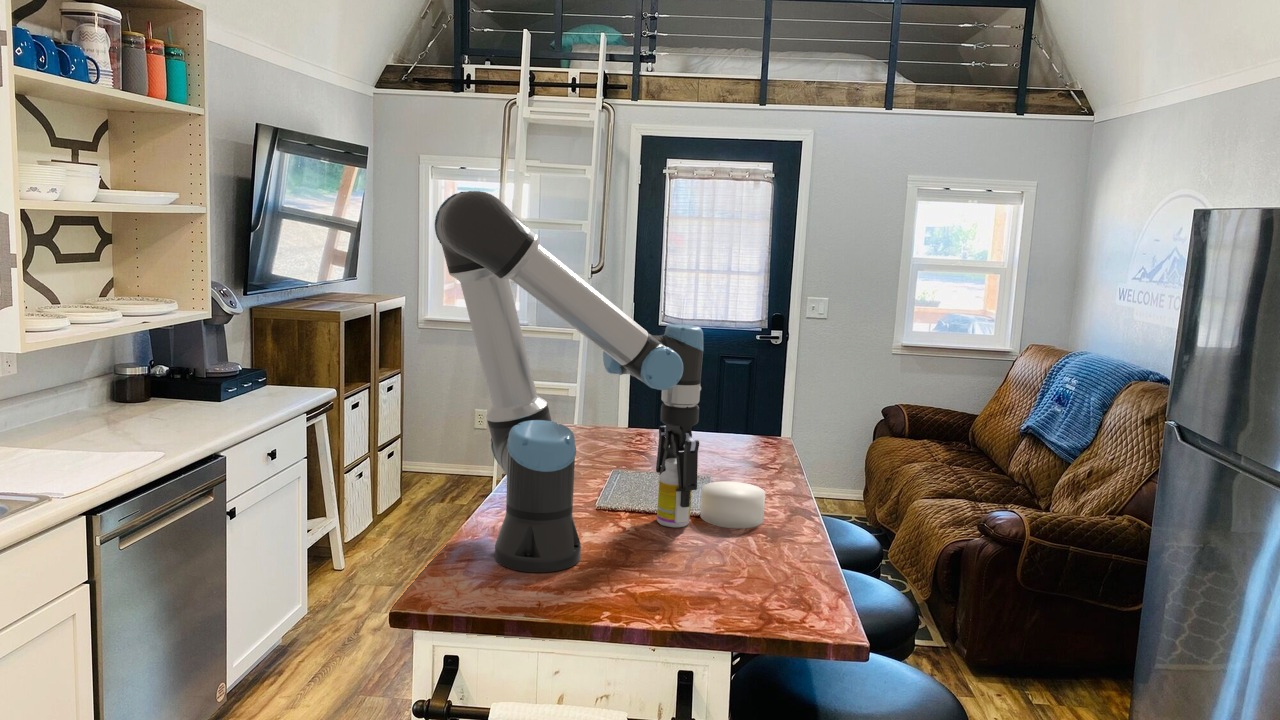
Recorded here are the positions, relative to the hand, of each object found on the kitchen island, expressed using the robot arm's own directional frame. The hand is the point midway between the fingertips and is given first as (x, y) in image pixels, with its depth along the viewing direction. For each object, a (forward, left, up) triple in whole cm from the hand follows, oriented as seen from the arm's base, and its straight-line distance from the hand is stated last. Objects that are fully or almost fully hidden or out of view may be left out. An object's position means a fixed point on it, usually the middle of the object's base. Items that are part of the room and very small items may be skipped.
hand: (673, 515), depth 184 cm
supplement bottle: (0, 0, -2) cm, 2 cm away
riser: (+13, -3, -2) cm, 14 cm away
